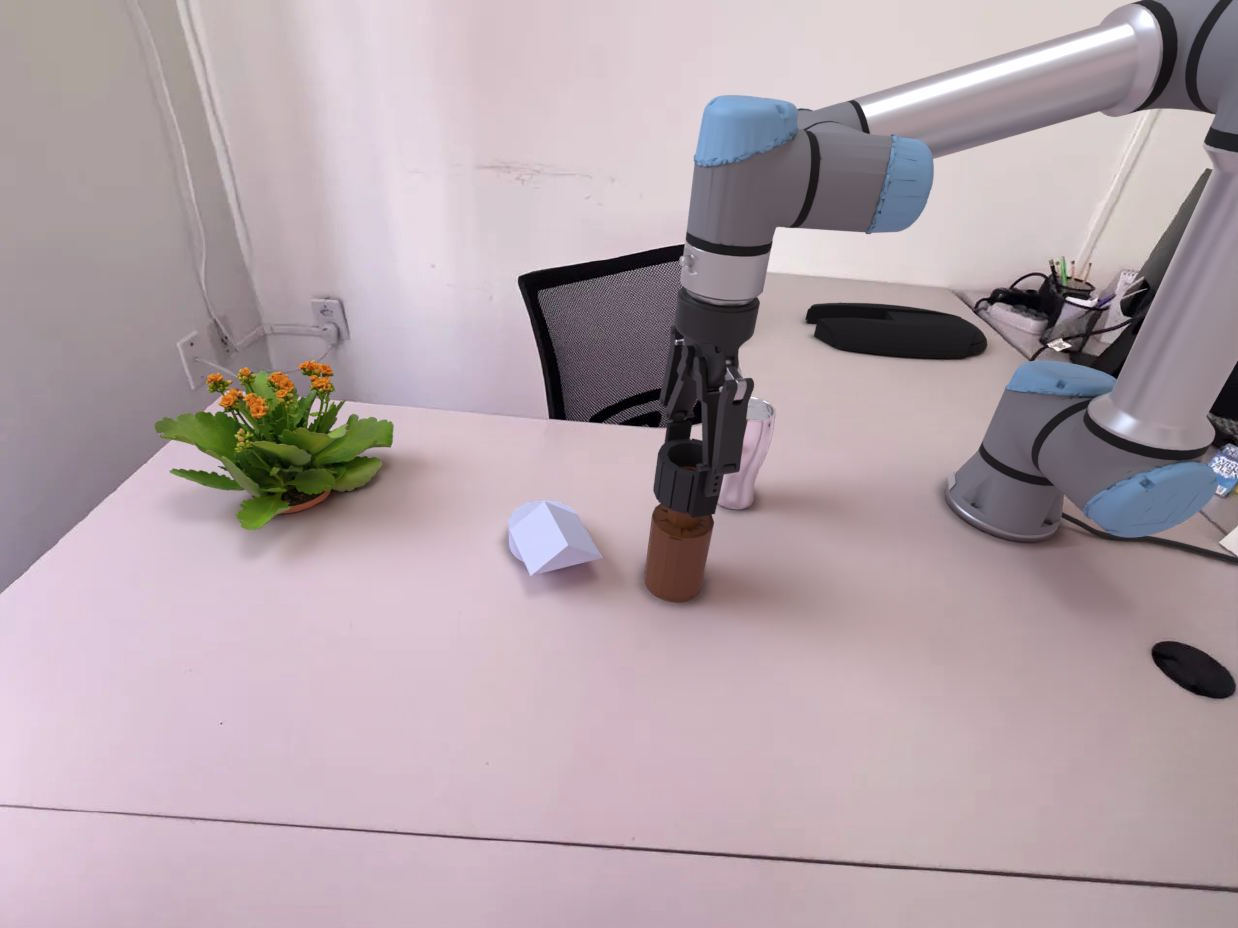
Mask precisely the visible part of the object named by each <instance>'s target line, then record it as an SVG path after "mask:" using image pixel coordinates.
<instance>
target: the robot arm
mask: <svg viewBox="0 0 1238 928" xmlns="http://www.w3.org/2000/svg"><path fill="white" fill-rule="evenodd" d="M1155 109H1156V110H1161V109H1162V110H1183V111H1191V112H1192V111H1194V112H1201V113H1206V114H1210V115H1214V117H1213V119H1212V122H1211V124H1210V126H1209V128H1208V130H1207V133H1206V135H1205V137H1204V140H1203V143H1202V148H1203V150H1204V151H1205V153H1206V154H1207V156H1208V158H1209V159H1210V161H1211V163H1212V167H1213V168H1212V171H1211V173H1210V174H1209V177H1208V179H1207V181H1206V184H1205V186H1204V188H1203V190H1202V192H1201V195H1200V197H1199V198H1198V201H1197V203H1196V205H1195V208H1194V210H1193V212H1192V214H1191V217H1190V219H1189V221H1188V223H1187V225H1186V226H1185V227H1186V228H1185V229H1184V232H1183V233H1182V236H1181V238H1180V240H1179V243H1178V245H1177V247H1176V249H1175V252H1174V254H1173V256H1172V258H1171V259H1170V262H1169V265H1168V267H1167V269H1166V271H1165V274H1164V276H1163V278H1162V280H1161V282H1160V284H1159V287H1158V288H1157V291H1156V292H1155V296H1154V298H1153V300H1152V302H1151V304H1150V307H1149V309H1148V310H1147V312H1146V315H1145V318H1144V320H1143V322H1142V323H1141V326H1140V328H1139V330H1138V333H1137V335H1136V337H1135V339H1134V341H1133V344H1132V345H1131V348H1130V350H1129V353H1128V354H1127V357H1126V359H1125V362H1124V363H1123V366H1122V368H1121V370H1120V372H1119V374H1118V377H1117V378H1116V377H1114V376H1112V375H1111V374H1109V373H1106V372H1104V371H1102V370H1098V369H1095V368H1092V367H1089V366H1085V365H1080V364H1076V363H1072V362H1066V361H1058V360H1047V359H1046V360H1045V359H1043V360H1031V361H1027V362H1024V363H1023V364H1021V365H1019V366H1018V367H1017V368H1016V369H1015V371H1014V373H1013V375H1012V376H1011V378H1010V380H1009V382H1008V384H1006V385H1005V387H1004V391H1003V393H1002V395H1001V397H1000V400H999V402H998V404H997V406H996V409H995V411H994V413H993V416H992V418H991V420H990V423H989V424H988V426H987V429H986V431H985V434H984V436H983V438H982V441H981V443H980V445H979V447H978V449H977V451H976V452H975V453H974V454H973V455H972V456H971V457H970V458H969V459H968V460H967V461H966V462H965V463H964V464H963V465H962V466H961V467H960V468H958V470H957V471H956V472H953V473H952V474H950V476H949V477H948V478H947V485H946V487H945V491H944V498H945V500H946V502H947V504H948V506H949V507H950V509H951V510H952V511H953V512H954V513H955V514H956V515H957V516H958V517H959V518H961V519H962V520H963V521H964V522H966V523H968V524H969V525H970V526H972V527H974V528H976V529H978V530H980V531H982V532H984V533H986V534H989V535H992V536H994V537H997V538H1000V539H1004V540H1008V541H1013V542H1019V543H1038V542H1039V543H1040V542H1043V541H1046V540H1049V539H1051V537H1053V536H1054V535H1055V533H1056V531H1057V529H1058V528H1059V526H1060V524H1061V521H1062V519H1064V520H1066V521H1068V522H1070V523H1072V524H1074V525H1076V526H1077V527H1080V528H1082V529H1083V530H1085V531H1087V532H1088V533H1090V534H1092V535H1094V536H1097V537H1100V538H1105V539H1110V540H1118V541H1142V542H1149V543H1150V542H1151V543H1157V544H1161V545H1166V546H1169V547H1174V548H1179V549H1183V550H1187V551H1190V552H1193V553H1198V554H1201V555H1205V556H1209V557H1212V558H1217V559H1220V560H1224V561H1227V562H1231V563H1235V564H1238V557H1237V556H1233V555H1229V554H1225V553H1222V552H1218V551H1215V550H1211V549H1208V548H1203V547H1200V546H1196V545H1193V544H1188V543H1184V542H1181V541H1177V540H1172V539H1167V538H1162V537H1157V536H1152V535H1156V534H1159V533H1162V532H1164V531H1168V530H1170V529H1172V528H1174V527H1176V526H1178V525H1180V524H1182V523H1184V522H1185V521H1187V520H1189V519H1191V518H1192V517H1193V516H1195V515H1196V514H1198V513H1199V512H1200V511H1201V510H1202V509H1204V507H1206V505H1208V504H1209V503H1210V501H1211V500H1212V499H1213V497H1215V494H1216V493H1217V491H1218V489H1219V483H1220V481H1219V477H1217V472H1215V471H1214V469H1213V467H1212V466H1210V465H1209V464H1208V463H1207V462H1203V459H1204V457H1205V456H1206V453H1207V452H1208V450H1209V448H1210V447H1211V445H1212V444H1213V441H1214V440H1215V436H1216V430H1215V427H1214V426H1213V424H1212V423H1211V422H1210V419H1208V417H1207V416H1208V414H1209V412H1210V411H1211V409H1212V408H1213V405H1214V403H1215V402H1216V400H1217V398H1218V396H1219V394H1220V393H1221V391H1222V389H1223V387H1224V386H1225V384H1226V382H1227V380H1228V379H1229V377H1230V375H1231V374H1232V372H1233V370H1234V368H1235V366H1236V364H1238V0H1138V1H1134V2H1130V3H1128V4H1124V5H1122V6H1118V7H1117V8H1114V9H1113V10H1112V11H1110V12H1109V14H1107V15H1106V16H1105V17H1104V18H1103V19H1102V21H1101V22H1100V23H1099V24H1098V25H1095V26H1092V27H1088V28H1085V29H1082V30H1077V31H1075V32H1072V33H1068V34H1065V35H1061V36H1059V37H1058V36H1057V37H1055V38H1052V39H1048V40H1045V41H1042V42H1039V43H1035V44H1031V45H1029V46H1024V47H1022V48H1018V49H1015V50H1011V51H1008V52H1006V53H1005V52H1004V53H1002V54H999V55H995V56H992V57H989V58H984V59H981V60H978V61H975V62H972V63H968V64H965V65H962V66H958V67H955V68H952V69H949V70H945V71H943V72H938V73H935V74H931V75H928V76H926V77H921V78H918V79H916V80H911V81H909V82H905V83H902V84H898V85H895V86H892V87H888V88H885V89H882V90H879V91H875V92H871V93H868V94H865V95H862V96H859V97H855V98H852V99H849V100H846V101H842V102H838V103H834V104H832V105H828V106H825V107H821V108H818V109H815V110H813V109H810V108H805V107H804V108H802V107H800V108H797V106H796V105H795V104H794V103H792V102H790V101H787V100H782V99H778V98H777V99H775V98H770V97H761V96H752V95H742V94H741V95H740V94H724V95H723V94H722V95H718V96H715V97H713V98H712V99H710V100H709V102H707V104H706V105H705V107H704V109H703V111H702V117H701V122H700V127H699V132H698V138H697V145H696V149H695V153H694V155H693V163H694V165H693V166H694V167H693V172H692V183H691V191H690V199H689V208H688V216H687V225H686V232H685V240H684V247H683V255H681V256H680V257H679V259H678V260H679V261H678V262H679V265H680V267H681V271H680V279H679V282H680V285H682V286H681V288H680V289H679V290H678V291H677V297H676V304H675V305H676V306H675V314H674V321H673V323H674V324H673V325H671V326H670V332H669V349H668V354H667V358H666V363H665V369H664V375H663V378H662V379H663V380H662V384H661V389H660V395H659V405H660V407H661V408H665V410H664V417H665V420H666V421H667V423H666V427H665V428H666V429H665V435H664V443H666V442H669V441H671V440H673V439H674V440H676V439H682V438H690V439H691V433H692V428H693V423H692V420H690V418H695V417H696V415H695V413H694V410H693V409H694V406H695V405H696V402H697V401H699V402H700V404H701V440H702V453H703V463H697V464H696V468H697V469H696V475H695V481H694V487H693V493H692V498H691V504H690V510H689V515H690V516H691V518H695V517H701V516H707V515H712V516H713V515H716V511H717V506H718V503H717V501H718V496H719V494H720V491H721V486H722V485H721V484H722V481H723V476H724V475H725V474H731V473H737V472H739V471H740V464H741V456H742V449H743V441H744V433H745V425H746V417H747V410H748V402H749V400H750V397H752V394H753V392H754V389H755V381H754V378H752V377H743V376H742V375H741V373H740V372H739V366H740V360H739V350H740V349H741V347H742V346H743V345H745V343H746V342H748V341H749V340H751V338H752V337H753V336H754V333H755V330H756V325H757V320H758V315H759V310H760V306H761V305H760V304H761V300H760V298H759V296H760V295H761V294H763V292H764V287H765V283H766V278H767V273H768V267H769V262H770V256H771V252H772V251H771V250H772V247H773V242H774V237H775V232H776V229H777V228H785V229H806V230H807V229H808V230H818V231H820V230H821V231H835V232H837V231H838V232H851V233H852V232H853V233H865V235H871V234H879V233H880V234H883V233H899V232H903V231H904V230H907V229H908V228H910V227H911V226H913V225H914V223H916V221H917V220H918V219H919V218H920V216H921V215H922V213H923V212H924V210H925V208H926V206H927V204H928V199H929V198H930V195H931V191H932V189H933V184H934V178H935V177H934V176H935V169H934V167H935V163H934V160H935V159H938V158H941V157H945V156H949V155H952V154H955V153H960V152H963V151H966V150H969V149H970V150H971V149H973V148H977V147H981V146H984V145H987V144H991V143H994V142H997V141H1001V140H1005V139H1008V138H1012V137H1015V136H1019V135H1022V134H1026V133H1029V132H1032V131H1037V130H1039V129H1043V128H1046V127H1050V126H1053V125H1057V124H1060V123H1064V122H1067V121H1072V120H1074V119H1078V118H1081V117H1085V116H1089V115H1092V114H1095V113H1098V112H1100V113H1101V114H1103V115H1104V116H1106V117H1110V118H1111V117H1112V118H1118V117H1123V116H1127V115H1131V114H1133V113H1137V112H1142V111H1149V110H1155ZM714 390H718V391H714ZM708 391H711V392H708ZM685 419H686V420H685ZM1065 497H1066V498H1067V499H1068V500H1069V501H1070V502H1071V503H1072V504H1073V505H1075V507H1077V509H1078V510H1079V511H1080V512H1082V514H1083V516H1084V517H1085V518H1087V519H1088V520H1091V521H1093V522H1094V523H1095V524H1097V525H1098V527H1100V528H1101V529H1102V530H1104V531H1102V530H1099V529H1097V528H1095V527H1092V526H1090V525H1089V524H1088V523H1086V522H1083V521H1082V520H1080V519H1078V518H1076V517H1074V516H1072V515H1070V514H1068V513H1066V512H1063V511H1064V500H1065Z"/></svg>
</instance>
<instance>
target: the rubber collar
mask: <svg viewBox="0 0 1238 928" xmlns="http://www.w3.org/2000/svg"><path fill="white" fill-rule="evenodd" d="M656 458H657V459H656V463H655V464H656V465H655V472H654V479H653V487H652V490H653V494H654V497H655V498H656V500H657V502H658V503H659V504H660V503H661V504H662V505H664V506H665V507H667V508H668V509H670V508H671V510H673V511H677V512H681V513H684V514H686V513H687V512H688V514H689V510H690V504H691V498H692V493H693V487H694V481H695V475H696V471H692V470H687V469H683V468H680V467H682V466H691V467H696V464H697V463H703V453H702V439H697V438H691V437H690V438H682V439H676V440H674V439H673V440H671V441H669V442H666V443H665V442H664V443H663V444H662V445H661V446H660V448H659V450H658V452H657V457H656ZM723 477H724V476H723ZM721 485H722V484H721ZM719 496H720V494H719ZM719 496H718V499H719ZM717 502H718V501H717Z"/></svg>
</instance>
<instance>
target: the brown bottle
mask: <svg viewBox="0 0 1238 928" xmlns="http://www.w3.org/2000/svg"><path fill="white" fill-rule="evenodd" d="M680 468H683V469H687V470H692V471H696V469H697V468H696V467H691V466H682V467H680ZM714 525H715V521H714V517H713V515H707V516H701V517H695V518H691V516H690V515H689V514H688V512H687V513H686V514H684V513H681V512H677V511H673V510H671V508H670V509H668V508H667V507H665V506H664V505H662V504H661V503H660V502H659V504H658V505H656V506H655V507H654V509H653V510H652V513H651V519H650V528H649V535H648V542H647V543H648V544H647V552H646V559H645V568H644V584H645V586H646V589H648V591H649V592H650V593H651V594H652V595H654V596H655V597H657V598H659V599H661V600H663V601H667V602H671V603H672V602H673V603H681V602H687V601H689V600H692V599H694V597H696V596H697V595H698V594H699V593H700V591H701V589H702V584H703V582H704V581H703V580H704V576H705V571H706V566H707V560H708V556H709V551H710V545H711V541H712V534H713V530H714Z"/></svg>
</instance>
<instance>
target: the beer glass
mask: <svg viewBox="0 0 1238 928" xmlns="http://www.w3.org/2000/svg"><path fill="white" fill-rule="evenodd" d="M776 415H777V409H776V407H775V406H774V405H773V404H772V403H770V402H769V401H768V400H765V399H763V398H760V397H756V396H751V397H750V400H749V402H748V410H747V417H746V425H745V433H744V441H743V449H742V456H741V464H740V471H739V472H737V473H731V474H725V475H724V477H723V481H722V486H721V491H720V496H719V499H718V502H717V505H719V506H721V507H724V508H725V509H729V510H745V509H747V508H749V507H751V506H752V505H753V503H754V502H755V501H754V500H755V484H756V481H757V480H756V479H757V477H758V474H759V472H760V471H761V468H762V466H763V463H764V462H765V460H766V458H767V454H768V452H769V450H770V446H771V443H772V440H773V435H774V434H773V433H774V428H775V423H776V422H775V421H776Z"/></svg>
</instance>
